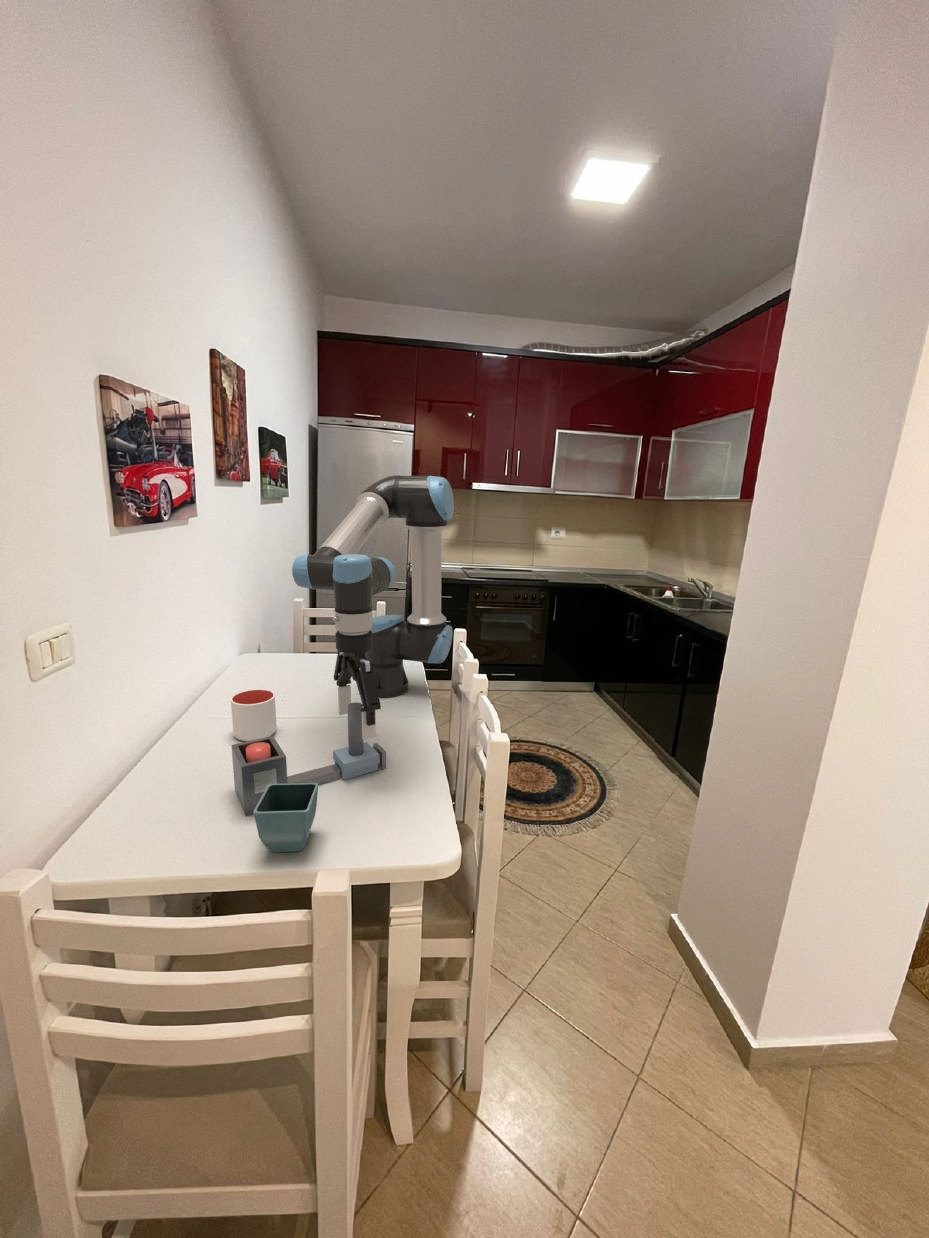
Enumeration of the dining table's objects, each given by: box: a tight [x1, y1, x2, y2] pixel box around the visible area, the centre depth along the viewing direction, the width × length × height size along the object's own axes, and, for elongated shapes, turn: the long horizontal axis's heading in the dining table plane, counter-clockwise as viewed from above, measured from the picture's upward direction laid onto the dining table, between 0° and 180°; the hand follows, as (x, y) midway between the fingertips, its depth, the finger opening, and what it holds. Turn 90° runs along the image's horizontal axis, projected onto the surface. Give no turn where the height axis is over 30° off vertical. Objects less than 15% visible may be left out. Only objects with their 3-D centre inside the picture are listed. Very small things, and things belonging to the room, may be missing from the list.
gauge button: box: [246, 742, 271, 763], centre depth 100 cm, size 4×4×5 cm
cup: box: [230, 689, 278, 742], centre depth 127 cm, size 10×10×10 cm
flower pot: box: [252, 783, 319, 853], centre depth 88 cm, size 9×9×9 cm
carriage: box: [332, 702, 380, 780], centre depth 111 cm, size 8×7×15 cm
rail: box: [287, 742, 387, 786], centre depth 110 cm, size 22×5×4 cm, turn 123°
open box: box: [230, 735, 288, 816], centre depth 101 cm, size 8×10×10 cm
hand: (356, 725), depth 111 cm, fingers open, 13 cm apart
